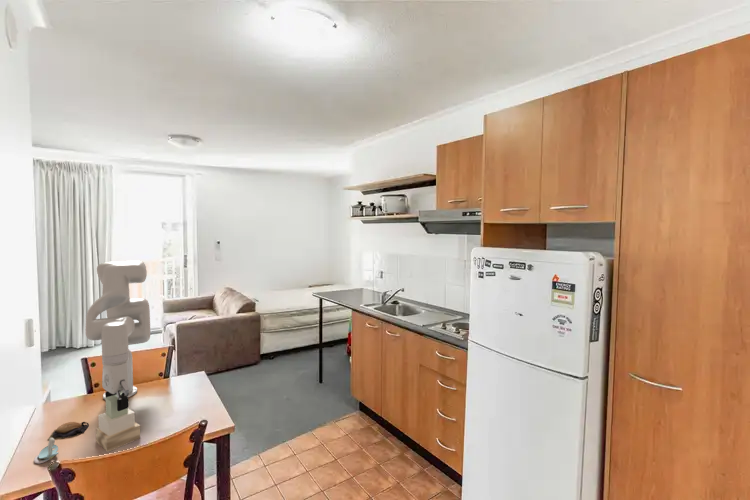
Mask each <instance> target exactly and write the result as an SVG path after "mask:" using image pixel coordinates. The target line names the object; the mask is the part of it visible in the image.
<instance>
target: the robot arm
mask: <svg viewBox="0 0 750 500" xmlns="http://www.w3.org/2000/svg"><path fill="white" fill-rule="evenodd" d="M147 273H148V271H147V266H146V263H145V262H144V261H142V260H126V261H124V260H122V261H117V260H116V261H115V260H114V261H106V262H105V261H104V262H101V263H99V264H98V265H97V266H96V274H97V276H98V278H99V281H100V282H101V284H102V295H101V296H100V297H99V298H97V299H96V300H95V301H94V302H93V303H92V304H91V305H90V307H89V309H88V310H87V312H86V315H85V316H86V318H85V319H86V320H85V336H86V338H87V340H90V341H93V342H94V341H95V342H96V341H101V362H102V363H101V364H102V378H101V379H102V381H101V385H102V386H101V387H102V388H103V389H104V391H105V392H104V393H103V395H102V399H103V400H105V401H106V397H109V396H113V395H116V394H117V397H118V400H117V411H121V410H124V409H127V408H128V409H129V398H130V397H132V396H134V395H136V393H137V392H138V387H136V386H134V375H133V374H134V371H133V353H132V351H131V350H130V349H129V346H131V345H140V344H144V343H147V342H149V340H150V338H151V313H150V312H151V310H150V304H149V301H148V300H147V299H146V298H137V297H136V298H130V284H142V283H144V282H145V281H146V280H147ZM105 311H106V312H105ZM103 312H105V313H106V317H105V318H104V317H103V318H98V316H99V315H100V314H102V313H103ZM135 320H136V321H137V322H135ZM120 393H122V394H121V395H120Z"/></svg>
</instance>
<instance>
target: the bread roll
mask: <svg viewBox="0 0 750 500" xmlns="http://www.w3.org/2000/svg"><path fill="white" fill-rule="evenodd" d="M89 427H90V424H89V422H87V421H82V422H81V423H80V422H77V421H68V422H65V423H63V424H61V425H59V426H58V427H57V428H56V429H54V430H53V432H51V434H50V435H49V437H48V438H47V441H49V440H50V438H54V440H61V439H65V438H66V439H67V438H71V437H75V436H80V435H81V434H84V433H85V432H86V431H87V429H88V428H89Z"/></svg>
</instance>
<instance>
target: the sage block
mask: <svg viewBox="0 0 750 500" xmlns="http://www.w3.org/2000/svg"><path fill="white" fill-rule="evenodd" d="M121 394H122V393H120V395H121ZM117 400H118V397H117V394H116V395H113V396H109V397H106V400H105V413H106V415H107V416H109V417H110V418H111V419H113V418H116V417H119V416H121V415H124V414H127V413H128V409H129V407H128V408H127V409H124V410H121V411H117Z"/></svg>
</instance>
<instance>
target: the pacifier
mask: <svg viewBox="0 0 750 500" xmlns="http://www.w3.org/2000/svg"><path fill="white" fill-rule="evenodd" d="M55 440H56V439H55ZM55 440H54V438H50V440H48V444H47V446H45V447H44V448H42V449H41V451H40V452H39V453H38V454H37V455H36V456H35V457H34V459H33V462H34V463H35V464H38V465H40V464H44V463H46V462H48V461H49V460H52V459H53V458H54V457H55V456H57V455H59V452H58V451H59V447H58V445H57V444H55ZM41 459H42V460H41Z"/></svg>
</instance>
